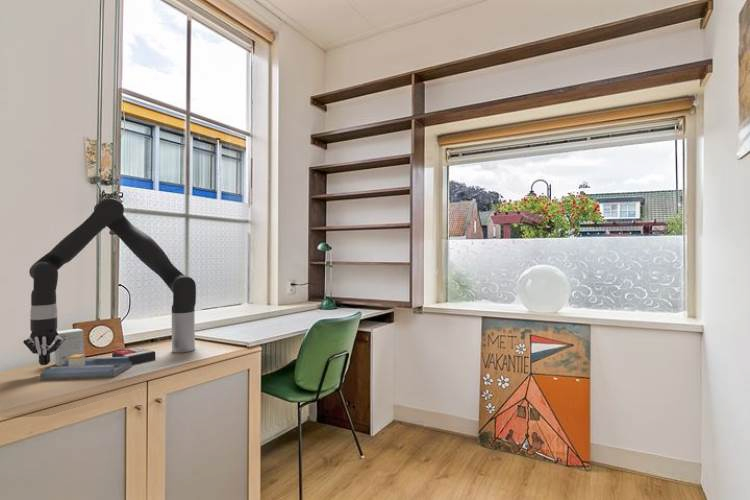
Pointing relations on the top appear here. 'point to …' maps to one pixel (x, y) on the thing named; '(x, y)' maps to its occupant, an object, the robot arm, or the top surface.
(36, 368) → the top surface
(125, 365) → the panel
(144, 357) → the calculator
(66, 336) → the small box
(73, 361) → the breaker toggle
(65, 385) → the top surface
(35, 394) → the top surface
